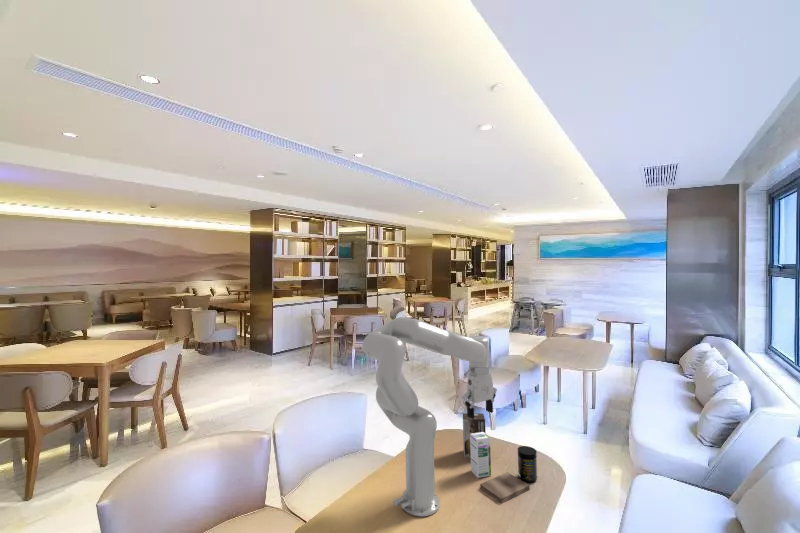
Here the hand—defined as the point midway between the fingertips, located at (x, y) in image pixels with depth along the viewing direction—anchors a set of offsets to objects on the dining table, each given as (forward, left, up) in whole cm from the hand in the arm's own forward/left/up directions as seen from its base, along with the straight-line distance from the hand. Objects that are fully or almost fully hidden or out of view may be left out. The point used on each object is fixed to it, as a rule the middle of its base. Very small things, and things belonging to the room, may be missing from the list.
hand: (480, 414), depth 139 cm
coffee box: (+8, +12, -22) cm, 27 cm away
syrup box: (0, 0, -22) cm, 22 cm away
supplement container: (+12, -12, -22) cm, 28 cm away
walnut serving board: (0, -12, -22) cm, 25 cm away
